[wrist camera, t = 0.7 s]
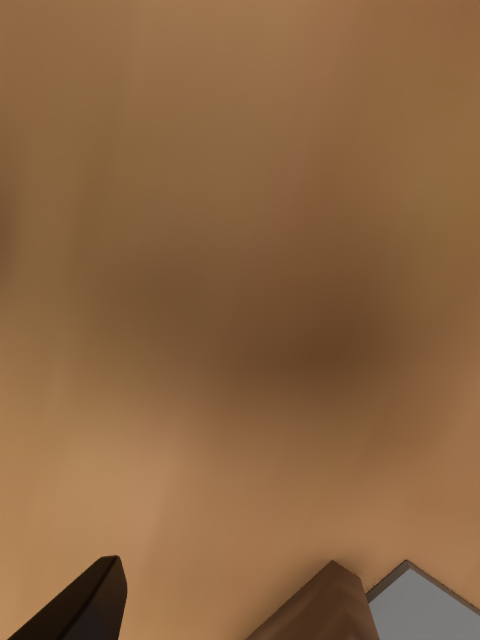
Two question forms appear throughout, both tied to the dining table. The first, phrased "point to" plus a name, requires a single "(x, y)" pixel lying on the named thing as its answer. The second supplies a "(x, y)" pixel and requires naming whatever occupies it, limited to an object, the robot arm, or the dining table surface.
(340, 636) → the walnut tile
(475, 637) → the slate board
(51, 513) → the dining table surface
